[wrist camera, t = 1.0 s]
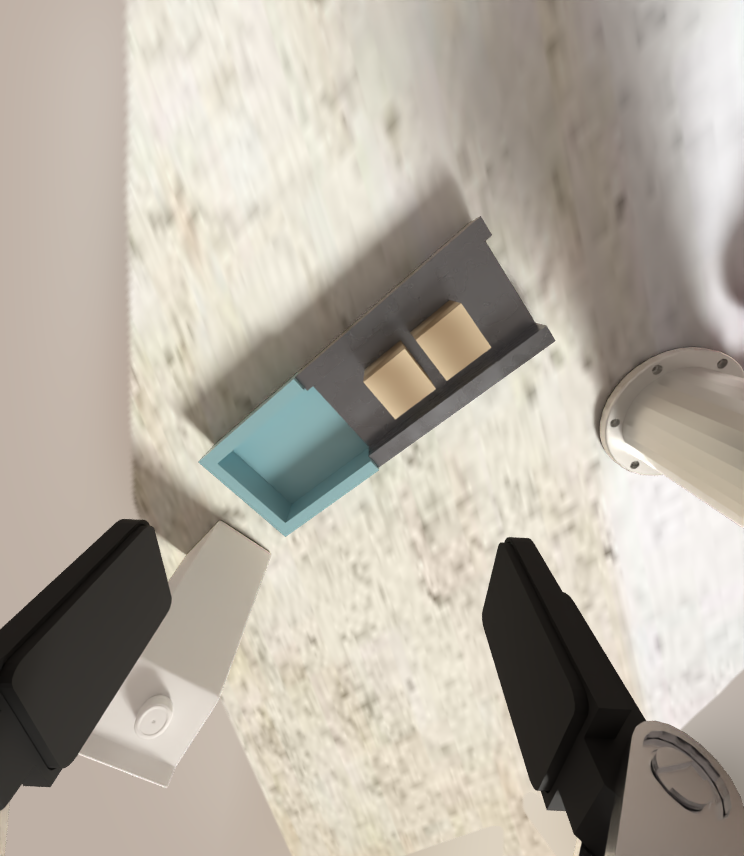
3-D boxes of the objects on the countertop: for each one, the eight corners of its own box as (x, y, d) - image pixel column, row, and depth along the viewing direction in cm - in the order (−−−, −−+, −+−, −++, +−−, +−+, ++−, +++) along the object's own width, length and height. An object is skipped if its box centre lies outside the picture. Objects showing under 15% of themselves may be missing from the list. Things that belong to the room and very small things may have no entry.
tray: (301, 368, 31) (293, 379, 28) (378, 452, 35) (379, 470, 31) (214, 444, 34) (198, 462, 31) (292, 514, 38) (285, 536, 34)
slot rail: (469, 222, 27) (480, 216, 24) (538, 335, 30) (555, 340, 27) (301, 368, 31) (294, 377, 28) (378, 452, 35) (378, 467, 32)
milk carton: (237, 586, 42) (141, 806, 24) (185, 554, 40) (41, 770, 22) (272, 552, 40) (195, 767, 22) (220, 518, 38) (90, 724, 20)
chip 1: (400, 340, 29) (404, 348, 25) (428, 375, 30) (435, 388, 27) (364, 369, 30) (363, 382, 26) (392, 402, 31) (395, 419, 28)
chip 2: (449, 300, 28) (461, 303, 24) (476, 338, 29) (491, 347, 25) (409, 332, 29) (415, 340, 25) (437, 368, 30) (446, 381, 26)
